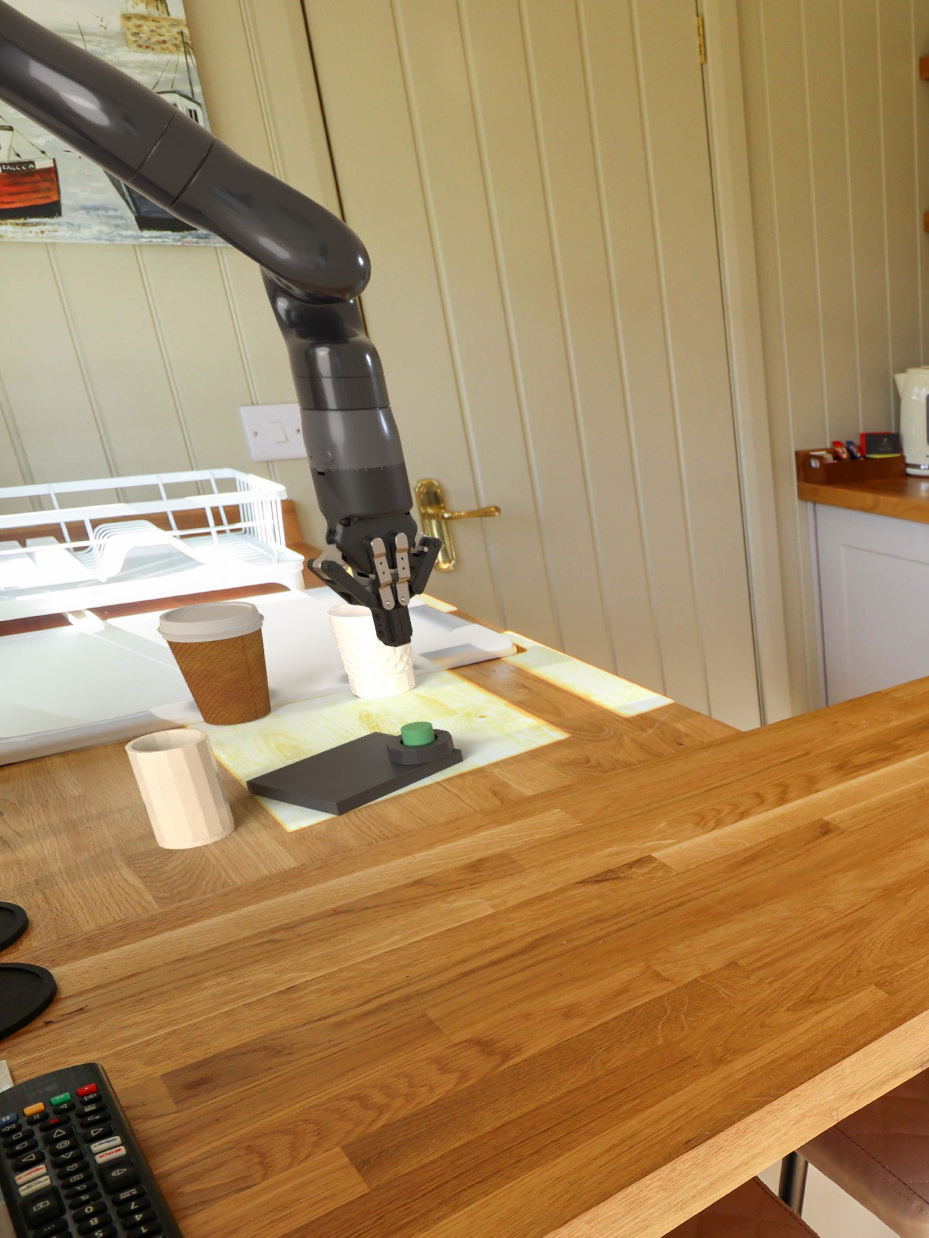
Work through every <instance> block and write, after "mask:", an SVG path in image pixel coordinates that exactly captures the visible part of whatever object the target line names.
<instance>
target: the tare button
mask: <svg viewBox="0 0 929 1238" xmlns="http://www.w3.org/2000/svg"><path fill="white" fill-rule="evenodd" d="M433 729H434V726H433V724H432V723H431V722H430V721H413V722H409V723H405V724H404V725H402V726H401V727H400V734H402V738H403V743H404V745H406V746H419V745H423V744H428V743H431V742H433V741H435V736H434V731H433Z"/></svg>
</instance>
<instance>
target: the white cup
mask: <svg viewBox="0 0 929 1238" xmlns="http://www.w3.org/2000/svg"><path fill="white" fill-rule="evenodd" d="M327 616H328V620H329V623H330V626H331V630H332V634H333V637H334V640H335V644H336V647H337V650H338V653H339V657H340V659H341V662H342V663H341V664H342V665H343V669H344V671H345V672H346V674H347V679H348V682H349V686H350V689H351V692H352V695H354V696H356V697H358V698H365V699H379V698H381V699H382V698H389V697H392V696H393V697H395V696H399V695H402V694H405V693H408V692H410V691H411V690H413V689H415V688H416V686H417V684H416V675H415V669H414V664H415V663H414V656H413V648H412V642H411V643H409V644H406V645H402V646H399V647H391V646H386V645H384V644H383V643H382V641H379V639H378V638H377V635H376V630H375V626H374V622H373V618H372V613H371V610H370V609H369V608H368V607H365V606H358V605H350V604H348V603H347V602H346V603H344V604H343V603H342V604H340V605H336V606H334V607H332V608H330V609H328V611H327Z"/></svg>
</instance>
